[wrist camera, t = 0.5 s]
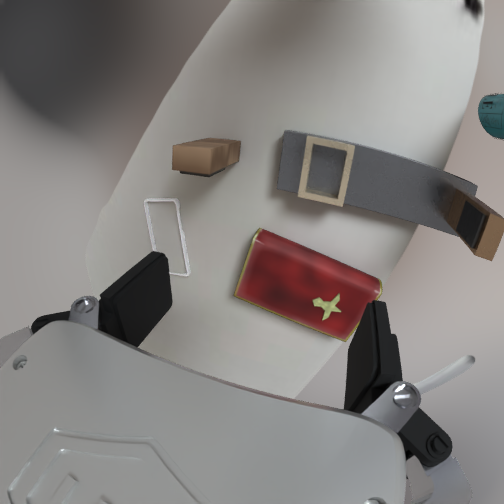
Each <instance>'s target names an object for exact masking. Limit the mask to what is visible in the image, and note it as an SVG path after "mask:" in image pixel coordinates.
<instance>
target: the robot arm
mask: <svg viewBox="0 0 504 504" xmlns="http://www.w3.org/2000/svg"><path fill="white" fill-rule="evenodd" d="M100 297H101V299H100V300H99V301H98V299H97V298H95V297H93V296H84V297H81V298H79V299H77V300H76V301H74V303H73V304H72V306H71V310H70V311H66V312H60V313H55V314H49V315H44V316H41V317H39V318H37V319H36V320H35V321H34V322H33V324H32V326H31V329H30V328H29V326H28V327H26V328H23V329H21V330H19V331H16V332H14V333H12V334H9V335H7V336H5V337H3V338H1V339H0V504H404V499H405V488H406V478H407V479H409V481H410V483H411V486H409V487H410V489H411V491H412V495H413V498H412V502H411V504H469V502H470V500H471V498H472V489H471V487H470V484H469V482H468V480H467V478H466V476H465V474H464V472H463V471H462V469H461V467H460V465H459V463H458V461H457V459H456V457H455V458H452V456H451V455H450V454H451V452H452V441H451V439H450V437H449V436H448V434H446V432H444V431H443V430H442V429H441V428H440V427H439V426H438V425H437V424H436V423H435V422H434V421H433V420H432V419H431V418H430V417H429V416H428V415H427V414H425V413H424V412H423V411H422V410H421V409H420V408H419V405H420V403H421V395H420V393H419V391H418V389H417V388H416V387H415V386H414V385H412V384H411V383H408V382H405V381H403V380H402V370H401V362H400V356H399V348H398V341H397V336H396V335H395V334H391V330H390V324H389V318H388V312H387V307H386V303H385V302H382V301H377V300H373V301H372V302H371V303H370V302H368V303H367V305H366V308H365V310H364V313H363V315H362V318H361V320H360V323H359V325H358V327H357V330H356V332H355V334H354V337H353V339H352V341H351V343H350V346H349V349H348V362H347V379H346V391H345V403H344V410H343V409H338V408H334V407H329V406H324V405H319V404H314V403H309V402H304V401H300V400H296V399H291V398H287V397H283V396H279V395H274V394H270V393H267V392H263V391H259V390H255V389H252V388H248V387H245V386H241V385H238V384H235V383H231V382H228V381H225V380H222V379H218V378H215V377H212V376H209V375H206V374H204V373H201V372H198V371H195V370H192V369H189V368H187V367H184V366H181V365H179V364H176V363H174V362H171V361H168V360H166V359H163V358H161V357H158V356H156V355H154V354H151V353H149V352H146V351H144V350H142V349H140V348H137V347H138V346H139V345H140V344H141V342H142V341H143V340H144V339H145V338H146V336H147V335H148V334H149V333H150V332H151V330H152V329H153V328H154V327H155V326H156V324H157V323H158V322H159V321H160V320H161V318H162V317H163V316H164V315H165V314H166V312H167V311H168V310H169V309H170V308H171V306H172V293H171V285H170V275H169V265H168V258H167V257H166V256H165V254H164V253H160V252H156V251H153V252H151V253H150V254H148V255H147V256H146V257H145V258H143V259H142V260H141V261H140V262H138V263H137V264H136V265H135V266H134V267H132V268H131V269H130V270H129V271H127V272H126V273H125V274H124V275H123V276H121V277H120V278H119V279H118V280H117V281H115V282H114V283H113V284H112V285H111V286H110V287H108V288H107V289H106V290H105V291H104V292H103V293H101V294H100ZM366 500H367V501H366Z"/></svg>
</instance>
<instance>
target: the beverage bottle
mask: <svg viewBox="0 0 504 504" xmlns="http://www.w3.org/2000/svg"><path fill="white" fill-rule="evenodd" d="M478 114H479V119H480V122H481V124H482V126H483V128H484V129H485V130H486V132H487V133H489V134H490V135H491V136H493V137H496V138H500V139H504V94H497V95H488V96H485V97H484V98H483V99H482V100H481V101H480V103H479V107H478Z"/></svg>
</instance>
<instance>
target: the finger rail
mask: <svg viewBox="0 0 504 504" xmlns="http://www.w3.org/2000/svg"><path fill="white" fill-rule="evenodd" d="M277 189H280V190H285V191H290V192H295V193H298V197H301V198H306V199H310V200H315V201H319V202H324V203H328V204H332V205H337V206H341V207H343V203H344V204H348V205H352V206H356V207H360V208H364V209H368V210H372V211H375V212H379V213H383V214H386V215H390V216H394V217H397V218H401V219H404V220H407V221H411V222H414V223H418V224H421V225H424V226H427V227H431V228H434V229H437V230H440V231H443V232H446V233H449V234H452V235H455V236H458V237H460V238H461V239H462V240H463V241H464V243H465V244H466V245H467V246H468V247H469V249H470V250H471V251H472V252H473V254H474V255H476V256H478V257H481V258H485V259H487V260H490V261H492V259H493V257H494V255H495V253H496V250H497V248H498V246H499V243H500V241H501V238H502V235H503V232H504V218H503V217H502V216H501V215H499V214H498V213H497V212H495V211H494V210H493V209H491V208H490V207H489V206H487V205H486V204H485V203H483V202H482V201H480V200H479V199H478V198H476V197H475V194H476V191H477V185H475V184H473V183H471V182H469V181H467V180H465V179H462V178H460V177H458V176H455V175H453V174H450V173H447V172H445V171H442V170H440V169H437V168H434V167H432V166H429V165H426V164H423V163H420V162H417V161H415V160H411V159H408V158H405V157H402V156H399V155H396V154H392V153H389V152H385V151H382V150H378V149H375V148H371V147H367V146H363V145H359V144H355V143H351V142H347V141H343V140H338V139H334V138H329V137H324V136H319V135H314V134H308V133H303V132H297V131H290V130H285V132H284V139H283V147H282V155H281V162H280V170H279V177H278V184H277Z"/></svg>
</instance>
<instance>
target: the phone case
mask: <svg viewBox="0 0 504 504" xmlns="http://www.w3.org/2000/svg"><path fill="white" fill-rule="evenodd" d="M148 201H173V202H174V203H175V205H176V210H177V217H178V223H179V230H180V236H181V242H182V248H183V254H184V259H185V265H186V270H187V273H184V274H178V273H172V272H169V274H172V275H179V276H185V277H188V276H189V275H190V266H189V260H188V254H187V248H186V242H185V235H184V231H182V225H181V218H180V211H179V209H181V208H180V202H179V200H178V199H177V198H148V199H146V200H144V209H145V214H146V220H147V225H148V230H149V235H150V240H151V244H152V249H153V251H156V252H157V250H156V245H155V240H154V235H153V230H152V225H151V220H150V214H149V208H148Z"/></svg>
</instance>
